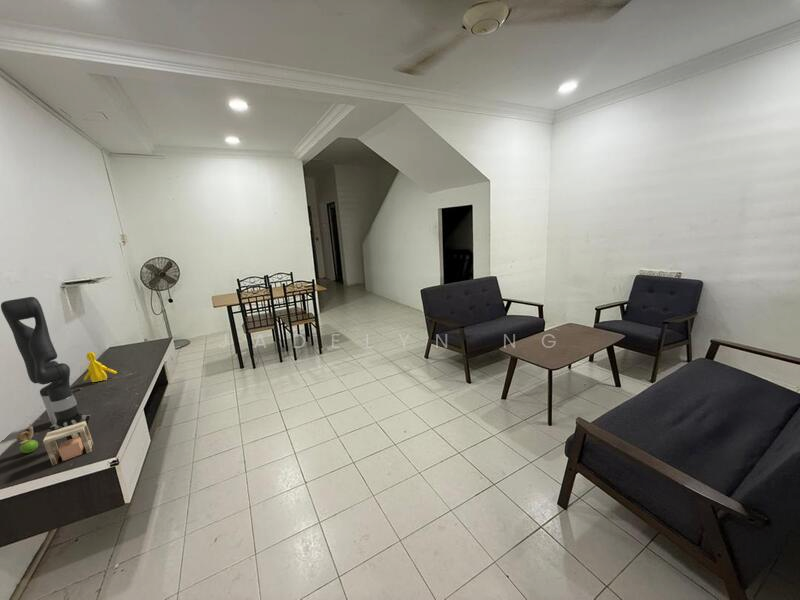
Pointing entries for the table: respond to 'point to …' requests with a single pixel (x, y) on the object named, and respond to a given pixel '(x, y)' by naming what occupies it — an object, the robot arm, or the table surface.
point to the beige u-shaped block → (63, 432)
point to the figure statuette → (96, 369)
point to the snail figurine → (27, 441)
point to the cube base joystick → (71, 447)
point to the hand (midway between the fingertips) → (76, 439)
